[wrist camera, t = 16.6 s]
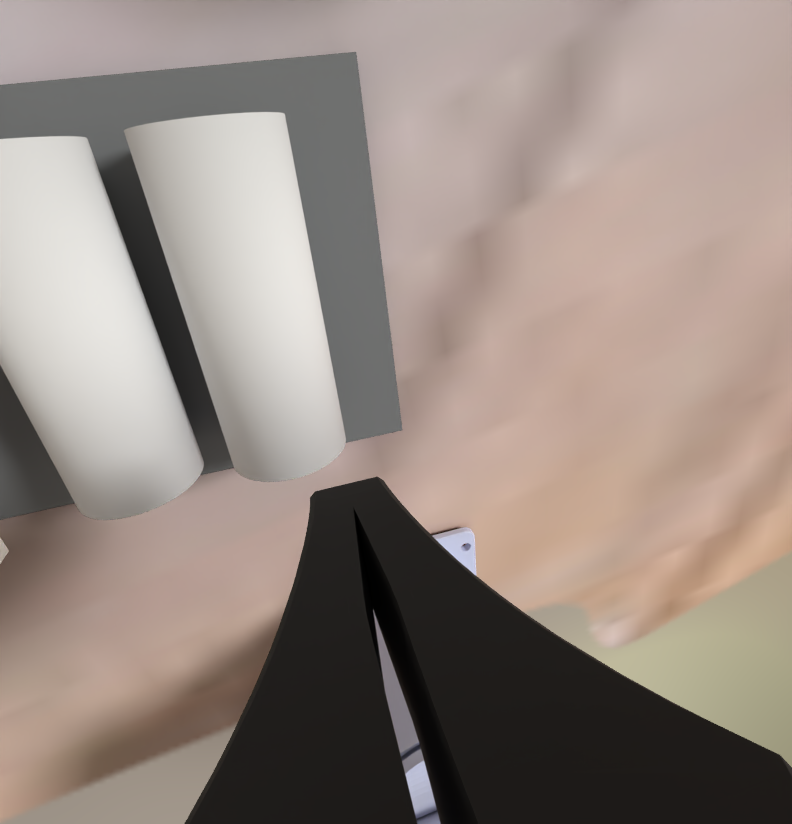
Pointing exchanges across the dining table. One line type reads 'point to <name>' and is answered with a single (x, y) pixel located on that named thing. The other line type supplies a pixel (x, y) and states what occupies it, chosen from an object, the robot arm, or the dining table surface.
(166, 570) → the dining table surface
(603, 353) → the dining table surface
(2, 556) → the slab
